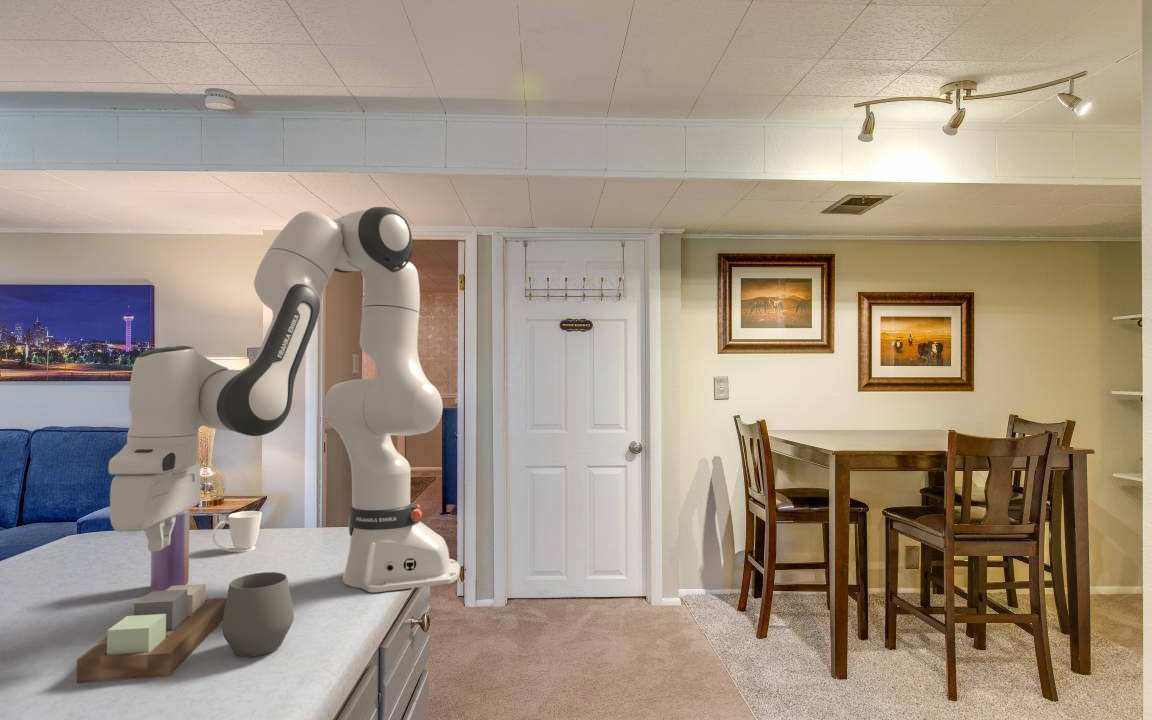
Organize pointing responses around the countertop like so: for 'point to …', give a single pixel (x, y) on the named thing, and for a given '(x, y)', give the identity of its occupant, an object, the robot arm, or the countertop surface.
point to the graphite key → (164, 606)
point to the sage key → (136, 634)
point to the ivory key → (192, 595)
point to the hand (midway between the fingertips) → (159, 548)
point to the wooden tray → (161, 657)
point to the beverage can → (172, 557)
